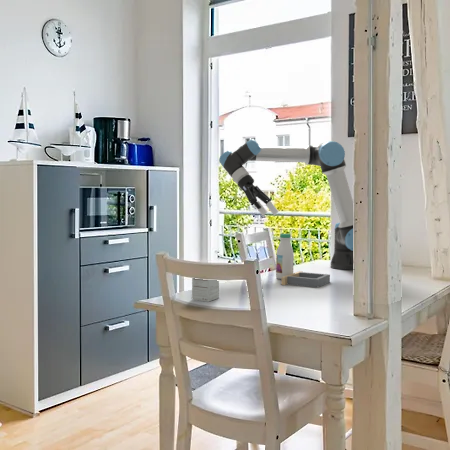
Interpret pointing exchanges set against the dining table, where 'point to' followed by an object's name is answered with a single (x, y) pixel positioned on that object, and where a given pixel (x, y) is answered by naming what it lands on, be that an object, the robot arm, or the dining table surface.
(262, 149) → the robot arm
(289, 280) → the tray
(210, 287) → the supplement box
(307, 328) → the dining table surface
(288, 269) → the milk bottle
